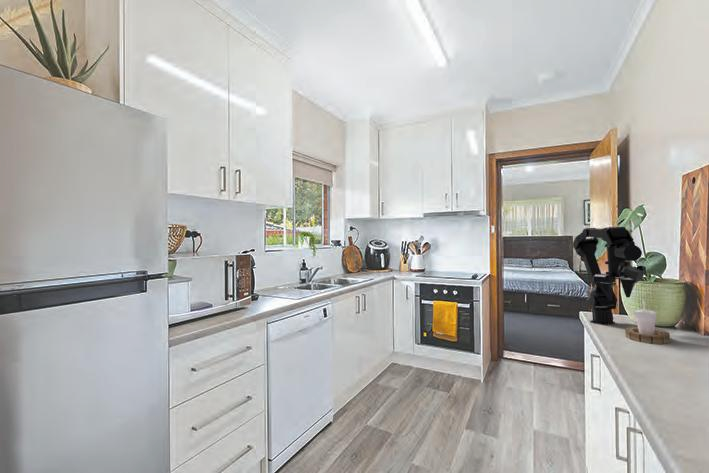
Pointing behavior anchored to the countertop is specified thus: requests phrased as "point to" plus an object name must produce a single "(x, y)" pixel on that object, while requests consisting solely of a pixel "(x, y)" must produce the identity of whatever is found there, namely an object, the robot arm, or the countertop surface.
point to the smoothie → (645, 320)
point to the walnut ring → (648, 336)
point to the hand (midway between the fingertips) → (619, 298)
